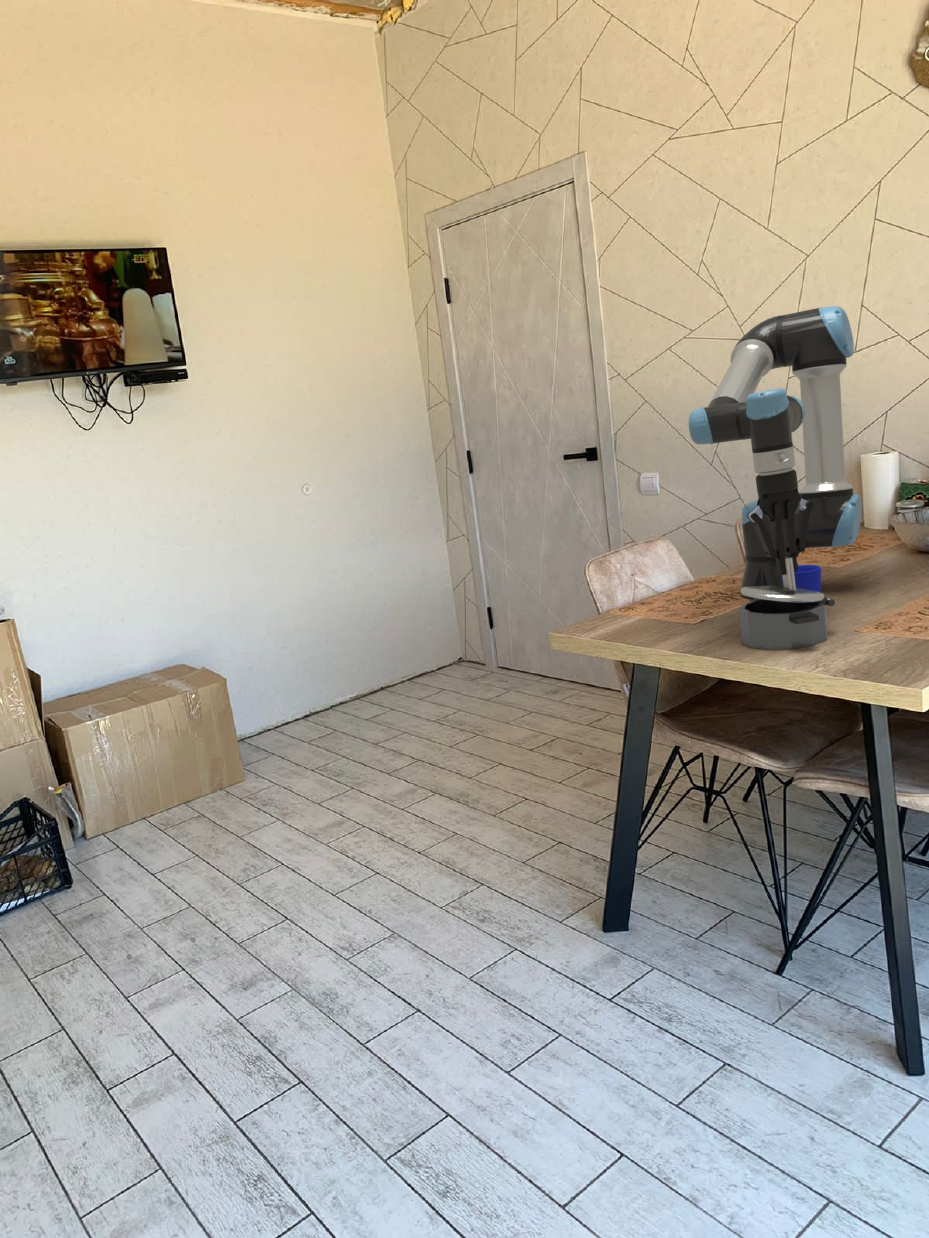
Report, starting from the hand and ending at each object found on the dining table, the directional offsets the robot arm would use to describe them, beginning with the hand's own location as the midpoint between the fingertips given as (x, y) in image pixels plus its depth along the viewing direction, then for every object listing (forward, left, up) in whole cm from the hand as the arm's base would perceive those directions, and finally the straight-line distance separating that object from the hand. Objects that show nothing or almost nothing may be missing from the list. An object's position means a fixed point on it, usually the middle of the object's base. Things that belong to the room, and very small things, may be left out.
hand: (790, 589), depth 185 cm
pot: (0, -2, -10) cm, 10 cm away
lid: (0, -2, -1) cm, 2 cm away
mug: (-19, +11, -10) cm, 24 cm away
